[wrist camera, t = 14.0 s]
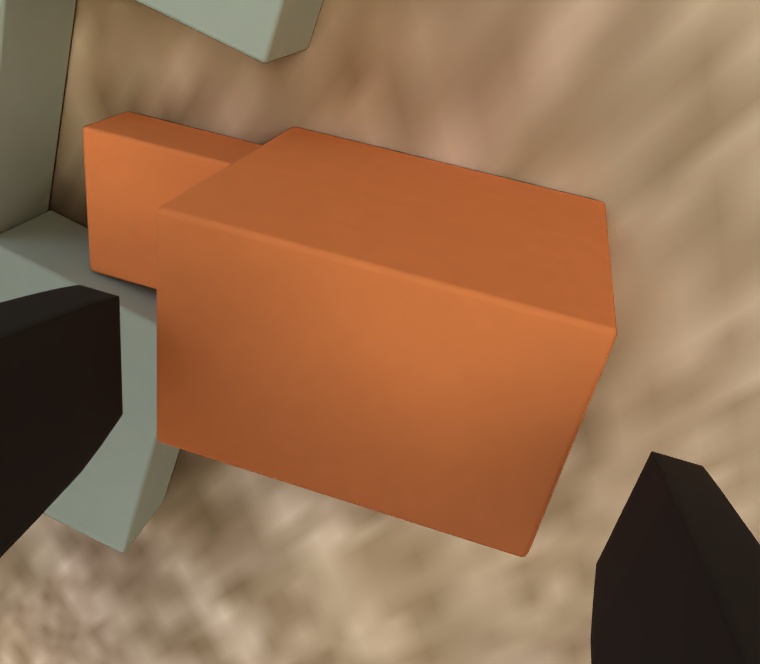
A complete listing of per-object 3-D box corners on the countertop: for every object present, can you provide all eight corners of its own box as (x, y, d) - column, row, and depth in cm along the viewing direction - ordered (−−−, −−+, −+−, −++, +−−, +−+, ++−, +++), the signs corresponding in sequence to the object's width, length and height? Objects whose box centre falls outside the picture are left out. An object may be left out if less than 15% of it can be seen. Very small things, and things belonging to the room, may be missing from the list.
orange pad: (542, 381, 14) (526, 561, 10) (129, 265, 16) (-40, 381, 11) (607, 201, 12) (619, 332, 8) (125, 84, 14) (-82, 143, 9)
